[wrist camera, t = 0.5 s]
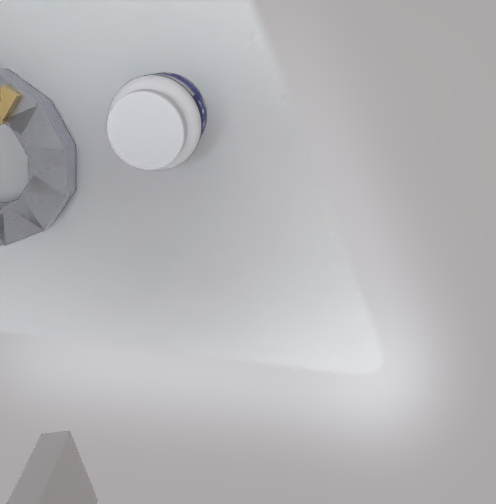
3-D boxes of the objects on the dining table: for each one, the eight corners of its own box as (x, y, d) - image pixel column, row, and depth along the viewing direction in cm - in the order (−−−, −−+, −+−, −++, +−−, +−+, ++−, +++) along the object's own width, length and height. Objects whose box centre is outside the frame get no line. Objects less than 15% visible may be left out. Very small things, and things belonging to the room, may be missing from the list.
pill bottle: (194, 161, 32) (178, 197, 24) (123, 135, 31) (82, 164, 23) (217, 88, 30) (210, 100, 22) (142, 59, 29) (106, 60, 21)
